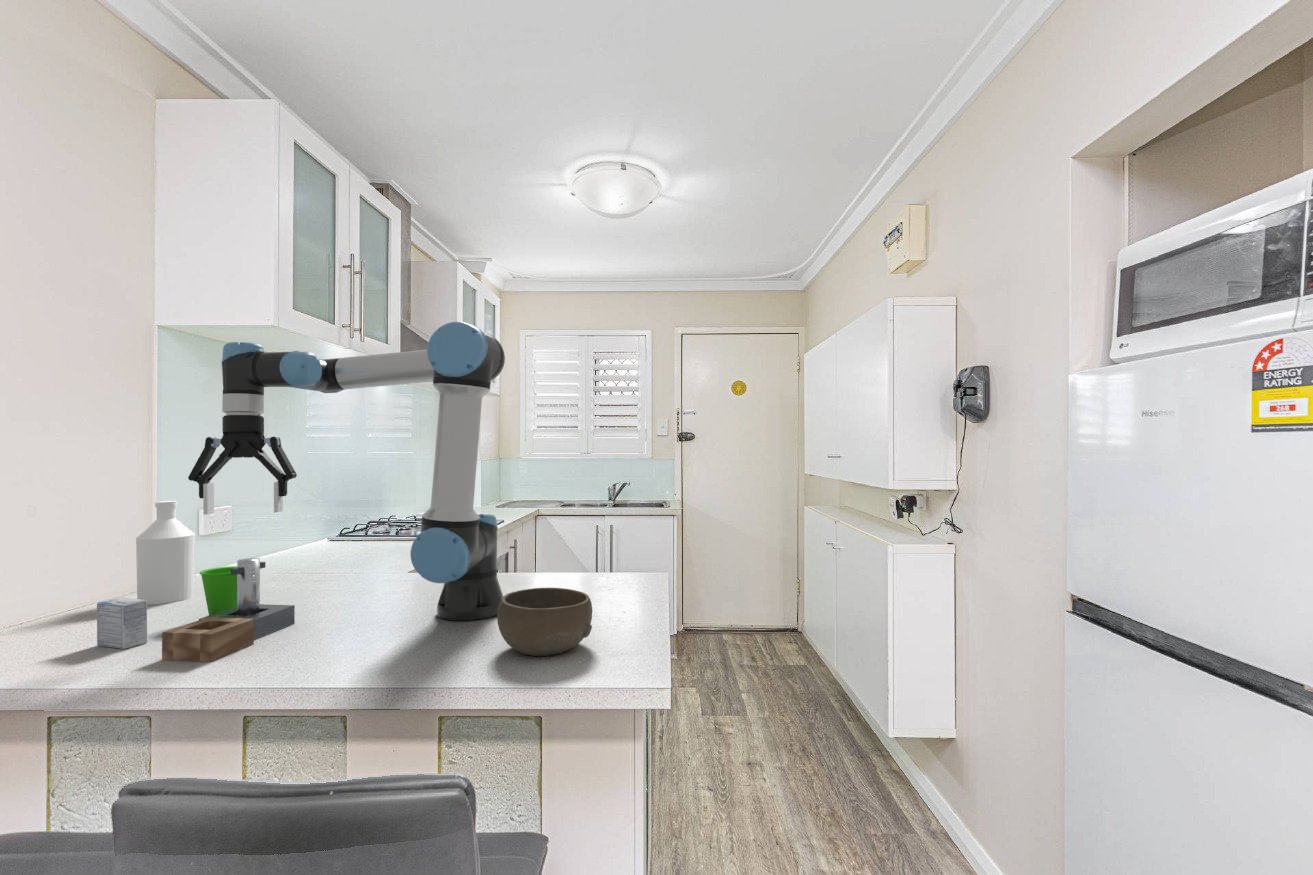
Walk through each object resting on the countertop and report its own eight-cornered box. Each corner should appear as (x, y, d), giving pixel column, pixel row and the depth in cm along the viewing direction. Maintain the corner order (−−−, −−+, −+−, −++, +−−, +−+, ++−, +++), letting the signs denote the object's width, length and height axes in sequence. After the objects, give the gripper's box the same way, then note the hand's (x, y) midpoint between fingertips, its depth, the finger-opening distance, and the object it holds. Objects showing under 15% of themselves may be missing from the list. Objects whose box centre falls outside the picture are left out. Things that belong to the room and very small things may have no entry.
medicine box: (148, 643, 123) (148, 599, 123) (122, 650, 119) (122, 604, 119) (121, 639, 126) (122, 596, 126) (95, 646, 122) (96, 601, 122)
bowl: (610, 647, 119) (609, 595, 119) (531, 672, 106) (531, 613, 107) (556, 629, 131) (556, 581, 131) (480, 649, 119) (480, 596, 119)
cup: (257, 613, 145) (257, 566, 145) (226, 624, 136) (226, 574, 136) (221, 612, 146) (221, 565, 146) (188, 623, 137) (188, 573, 137)
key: (271, 625, 135) (271, 556, 135) (242, 636, 127) (242, 563, 127) (254, 625, 135) (254, 556, 135) (224, 636, 127) (224, 563, 128)
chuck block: (294, 623, 136) (294, 605, 136) (252, 640, 124) (252, 620, 124) (244, 621, 138) (244, 603, 138) (198, 638, 126) (198, 618, 126)
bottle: (204, 595, 162) (205, 500, 163) (152, 606, 151) (153, 504, 152) (177, 591, 167) (178, 498, 167) (125, 601, 156) (126, 502, 157)
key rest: (253, 644, 122) (253, 618, 122) (211, 661, 112) (211, 633, 112) (208, 642, 123) (208, 617, 123) (162, 659, 113) (162, 632, 114)
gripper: (312, 415, 140) (312, 509, 140) (188, 415, 136) (188, 512, 135) (299, 413, 133) (300, 512, 133) (168, 413, 128) (168, 516, 128)
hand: (243, 512), depth 134 cm, fingers open, 13 cm apart
